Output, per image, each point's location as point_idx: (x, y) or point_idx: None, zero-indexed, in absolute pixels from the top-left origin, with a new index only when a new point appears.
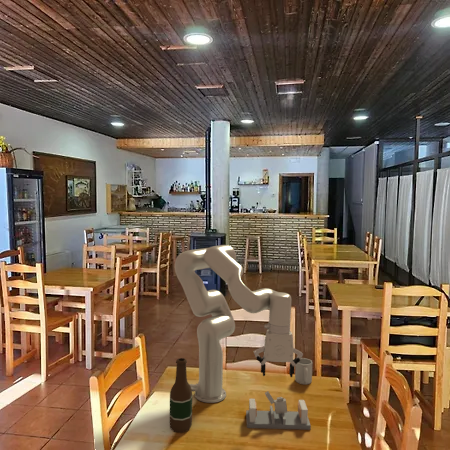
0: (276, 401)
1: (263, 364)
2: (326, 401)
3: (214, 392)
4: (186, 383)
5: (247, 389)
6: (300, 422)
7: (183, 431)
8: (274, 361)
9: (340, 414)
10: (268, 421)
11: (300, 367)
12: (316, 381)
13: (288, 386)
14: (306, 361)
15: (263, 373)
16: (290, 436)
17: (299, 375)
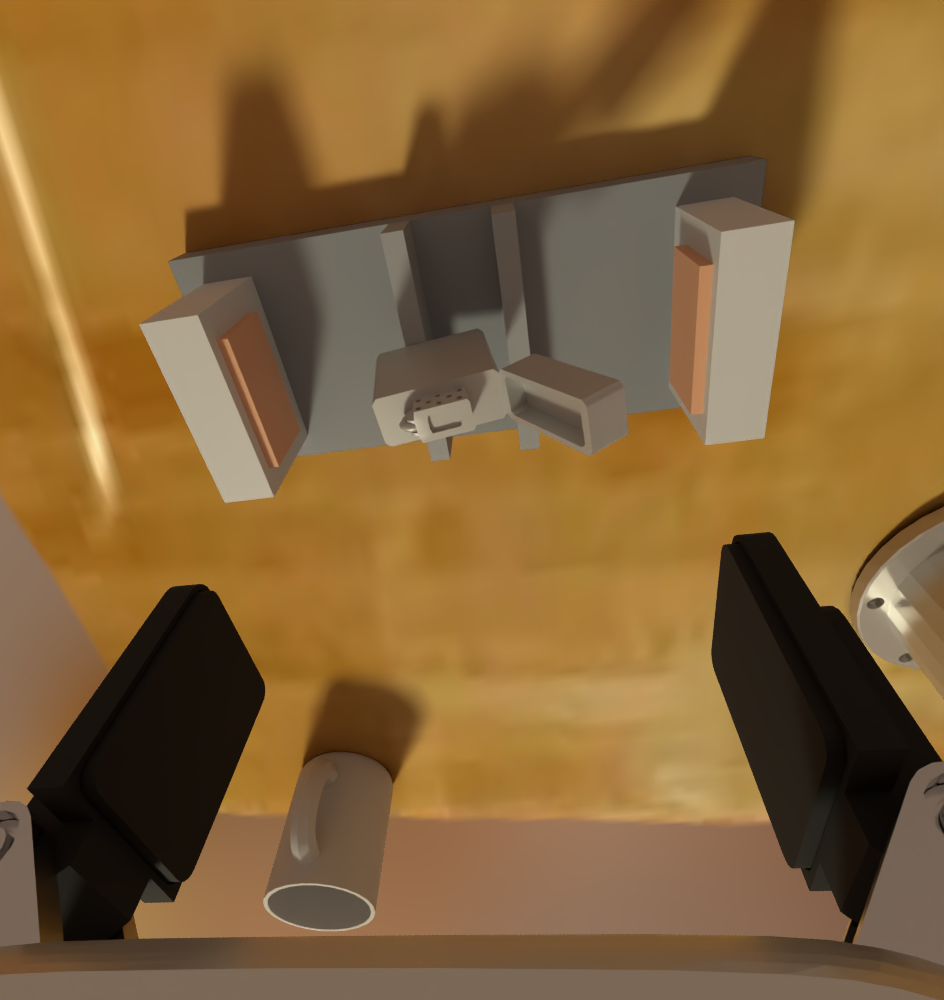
0: (478, 387)
1: (919, 784)
2: None
3: None
4: None
5: (682, 673)
6: (264, 294)
7: None
8: (567, 940)
9: (41, 503)
10: (548, 250)
11: (340, 859)
12: (276, 780)
13: (424, 727)
14: (313, 906)
15: (787, 567)
16: (333, 87)
17: (356, 803)
